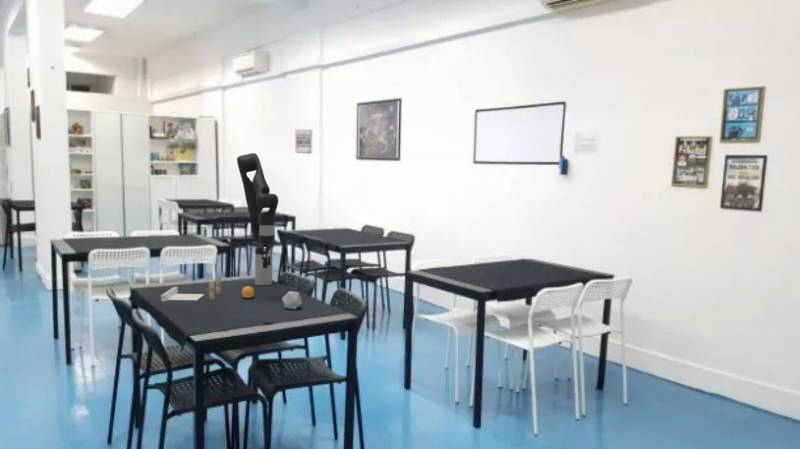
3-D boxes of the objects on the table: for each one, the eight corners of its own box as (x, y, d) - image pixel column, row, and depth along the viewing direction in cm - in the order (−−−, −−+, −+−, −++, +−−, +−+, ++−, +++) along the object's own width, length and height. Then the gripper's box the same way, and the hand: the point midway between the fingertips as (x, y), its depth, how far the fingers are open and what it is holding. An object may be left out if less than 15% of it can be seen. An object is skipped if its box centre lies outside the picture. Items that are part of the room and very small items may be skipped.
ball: (242, 296, 302) (242, 284, 302) (255, 296, 303) (255, 285, 302) (240, 299, 296) (240, 287, 296) (252, 299, 297) (253, 287, 296)
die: (286, 312, 274) (299, 296, 274) (275, 301, 278) (288, 284, 278) (295, 315, 282) (308, 299, 281) (284, 304, 286) (297, 288, 286)
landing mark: (176, 294, 304) (176, 293, 304) (204, 294, 305) (204, 294, 305) (167, 300, 290) (167, 299, 290) (196, 300, 291) (197, 300, 291)
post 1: (209, 299, 293) (210, 281, 292) (214, 300, 293) (215, 281, 292) (208, 301, 290) (208, 282, 289) (213, 301, 290) (213, 282, 290)
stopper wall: (173, 292, 306) (173, 287, 306) (177, 292, 307) (177, 287, 306) (161, 301, 287) (161, 295, 286) (165, 301, 287) (165, 295, 286)
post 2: (216, 294, 306) (216, 276, 305) (221, 294, 306) (221, 276, 305) (215, 295, 304) (215, 277, 303) (220, 295, 304) (220, 277, 303)
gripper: (261, 232, 303) (261, 264, 304) (256, 235, 289) (256, 268, 290) (276, 232, 303) (276, 264, 305) (272, 235, 289) (272, 269, 291)
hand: (266, 266), depth 298 cm, fingers open, 8 cm apart
